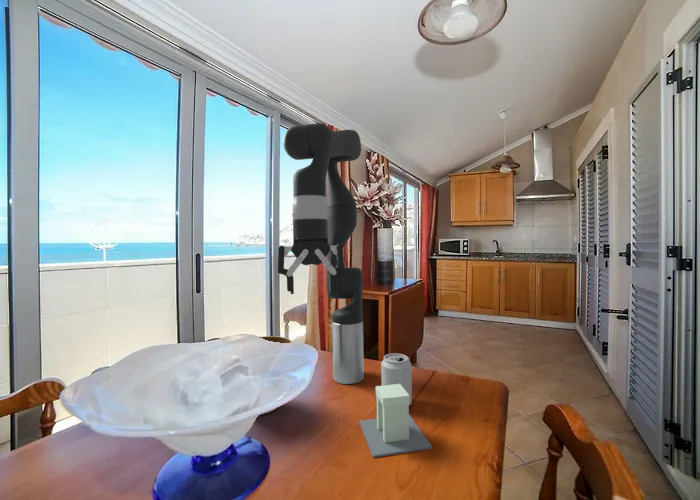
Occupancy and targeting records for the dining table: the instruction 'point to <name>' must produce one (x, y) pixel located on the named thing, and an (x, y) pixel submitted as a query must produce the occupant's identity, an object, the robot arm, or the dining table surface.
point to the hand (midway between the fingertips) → (311, 292)
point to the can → (397, 372)
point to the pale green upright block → (393, 412)
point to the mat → (382, 449)
